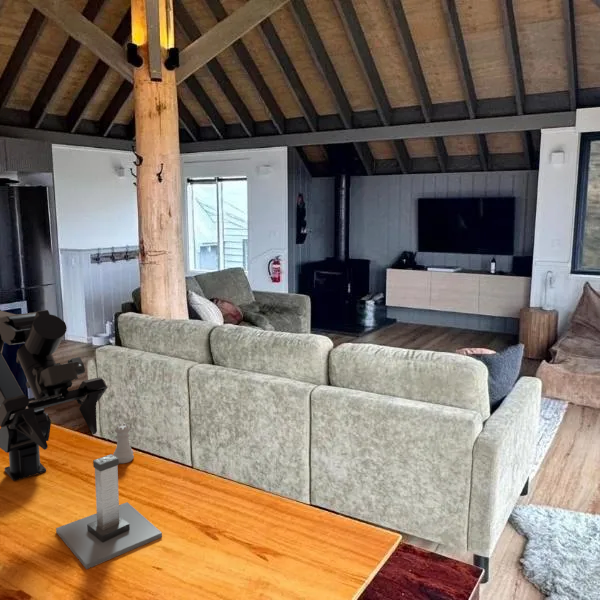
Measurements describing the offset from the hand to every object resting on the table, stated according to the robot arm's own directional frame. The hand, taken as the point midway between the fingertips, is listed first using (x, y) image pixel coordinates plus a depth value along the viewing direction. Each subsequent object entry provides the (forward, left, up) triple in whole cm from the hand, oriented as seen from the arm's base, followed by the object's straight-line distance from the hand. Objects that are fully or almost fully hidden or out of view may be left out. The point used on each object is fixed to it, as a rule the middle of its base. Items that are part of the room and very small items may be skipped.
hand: (71, 440), depth 100 cm
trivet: (+12, +1, -14) cm, 18 cm away
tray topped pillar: (+12, +1, -13) cm, 17 cm away
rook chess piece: (-13, +16, -14) cm, 25 cm away
